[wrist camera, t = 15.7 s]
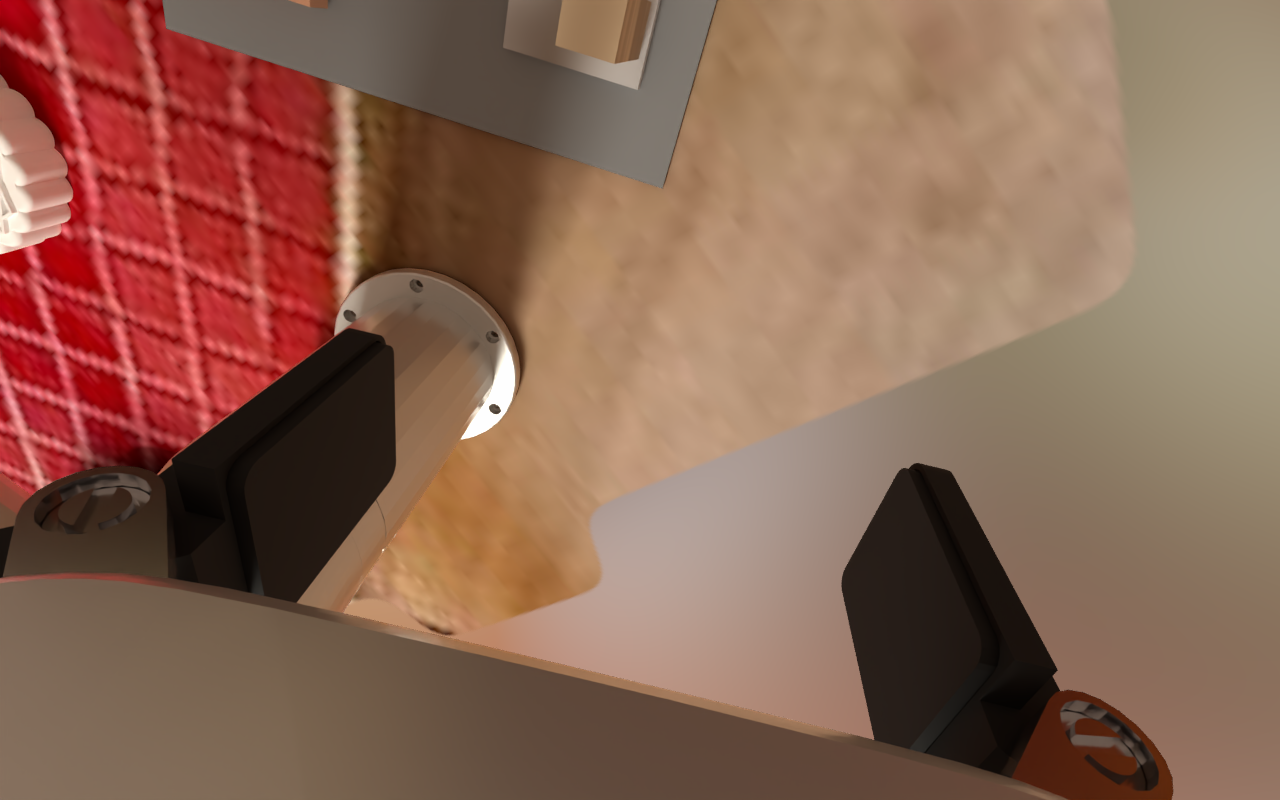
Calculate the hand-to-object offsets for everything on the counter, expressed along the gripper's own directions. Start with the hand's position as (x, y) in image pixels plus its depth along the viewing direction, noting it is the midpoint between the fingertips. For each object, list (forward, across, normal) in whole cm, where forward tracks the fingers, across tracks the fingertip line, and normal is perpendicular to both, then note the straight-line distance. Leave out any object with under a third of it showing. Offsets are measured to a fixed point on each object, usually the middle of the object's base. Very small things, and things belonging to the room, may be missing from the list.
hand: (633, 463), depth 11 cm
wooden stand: (+25, +7, -7) cm, 27 cm away
